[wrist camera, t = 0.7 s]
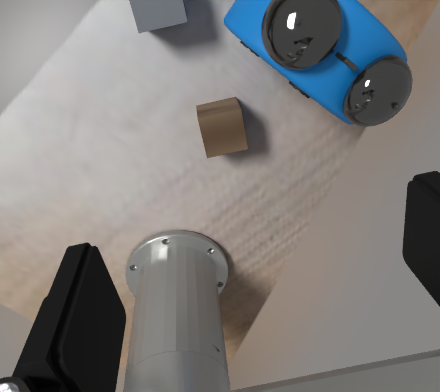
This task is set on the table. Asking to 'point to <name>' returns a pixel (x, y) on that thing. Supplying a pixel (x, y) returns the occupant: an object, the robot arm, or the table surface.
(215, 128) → the walnut block
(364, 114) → the alarm clock
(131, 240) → the table surface
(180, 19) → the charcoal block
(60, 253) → the table surface
